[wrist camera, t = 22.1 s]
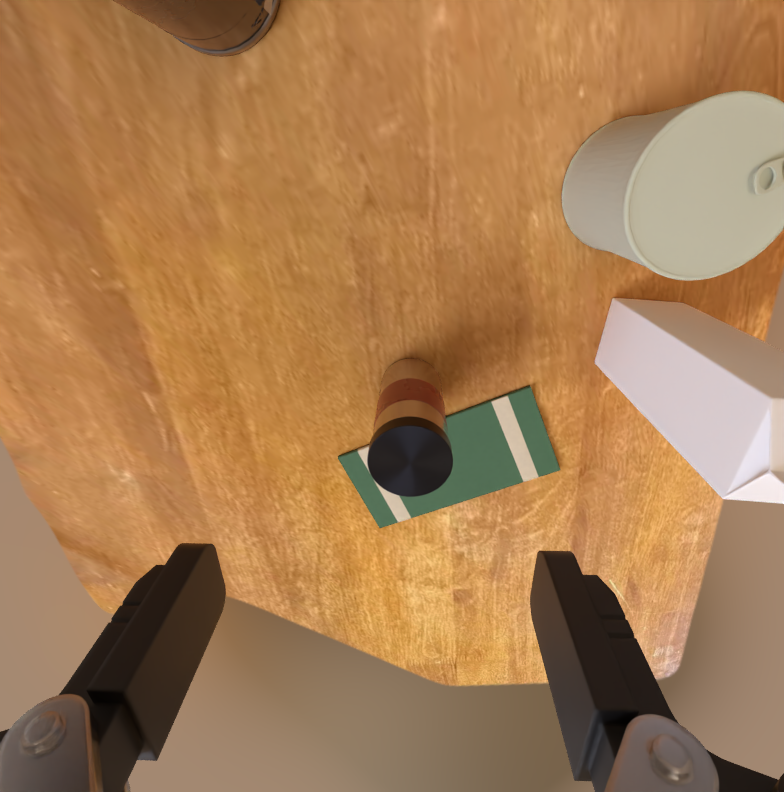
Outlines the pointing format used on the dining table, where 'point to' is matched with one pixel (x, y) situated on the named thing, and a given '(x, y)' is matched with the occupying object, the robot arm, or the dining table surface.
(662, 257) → the can
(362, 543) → the dining table surface
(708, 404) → the milk
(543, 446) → the towel
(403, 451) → the jar
